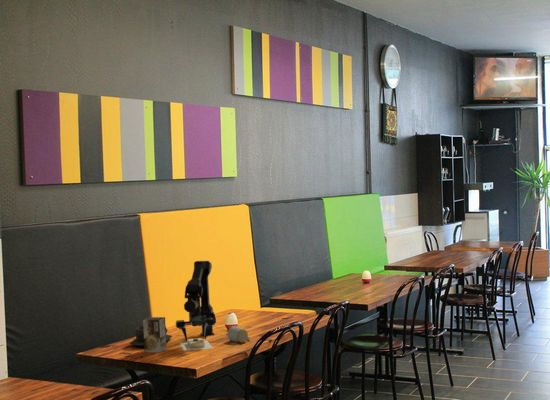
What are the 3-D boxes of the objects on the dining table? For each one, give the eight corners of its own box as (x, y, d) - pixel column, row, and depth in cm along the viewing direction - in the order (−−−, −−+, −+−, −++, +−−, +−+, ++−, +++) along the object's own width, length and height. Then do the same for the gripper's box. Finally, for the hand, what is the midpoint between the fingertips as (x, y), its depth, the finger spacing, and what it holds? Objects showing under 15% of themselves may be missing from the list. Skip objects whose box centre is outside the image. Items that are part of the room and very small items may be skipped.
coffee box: (167, 350, 359) (165, 317, 359) (160, 353, 353) (159, 319, 353) (150, 349, 362) (149, 316, 362) (143, 352, 356) (142, 319, 356)
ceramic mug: (238, 344, 366) (237, 329, 366) (227, 342, 372) (227, 327, 372) (253, 341, 373) (253, 326, 373) (243, 339, 379) (242, 324, 379)
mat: (179, 344, 372) (179, 343, 372) (207, 341, 375) (207, 340, 375) (184, 351, 354) (184, 350, 354) (213, 349, 358) (213, 348, 358)
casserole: (152, 337, 391) (151, 321, 391) (180, 339, 382) (180, 323, 382) (121, 347, 369) (120, 330, 369) (150, 350, 360) (149, 333, 360)
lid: (187, 343, 369) (187, 337, 369) (201, 342, 371) (201, 336, 371) (190, 348, 358) (190, 341, 358) (204, 347, 360) (204, 340, 360)
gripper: (177, 312, 354) (179, 345, 355) (216, 309, 359) (217, 341, 359) (174, 309, 365) (176, 340, 365) (212, 306, 370) (213, 337, 370)
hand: (195, 340), depth 365 cm, fingers open, 9 cm apart
